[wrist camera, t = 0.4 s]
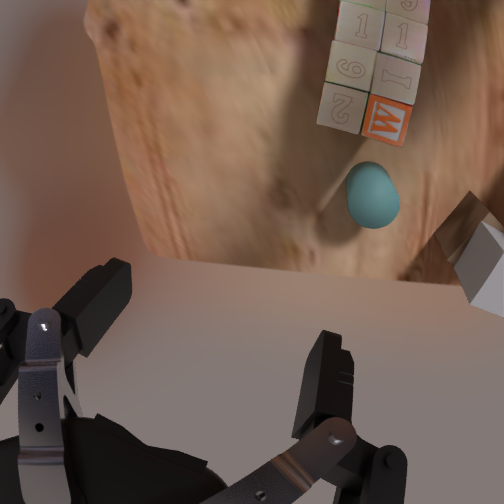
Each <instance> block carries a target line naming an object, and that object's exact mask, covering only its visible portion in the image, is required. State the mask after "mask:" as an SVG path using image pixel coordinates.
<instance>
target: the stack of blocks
mask: <svg viewBox="0 0 504 504" xmlns="http://www.w3.org/2000/svg"><path fill="white" fill-rule="evenodd" d="M430 1H431V0H339V5H338V12H337V23H336V29H335V35H334V40H332V43H331V49H330V55H329V61H328V66H327V71H326V76H325V82H324V85H323V90H322V95H321V100H320V105H319V110H318V115H317V120H316V124H319V125H323V126H327V127H331V128H335V129H339V130H342V131H346V132H350V133H353V134H357V135H358V134H361V135H362V136H365V137H368V138H372V139H375V140H378V141H382V142H385V143H388V144H391V145H395V146H398V147H403V143H404V140H405V136H406V132H407V128H408V124H409V120H410V116H411V112H412V106H413V105H414V103H415V98H416V94H417V88H418V83H419V78H420V72H421V64H422V63H423V61H424V55H425V47H426V40H427V33H428V26H427V24H428V21H429V11H430Z"/></svg>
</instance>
